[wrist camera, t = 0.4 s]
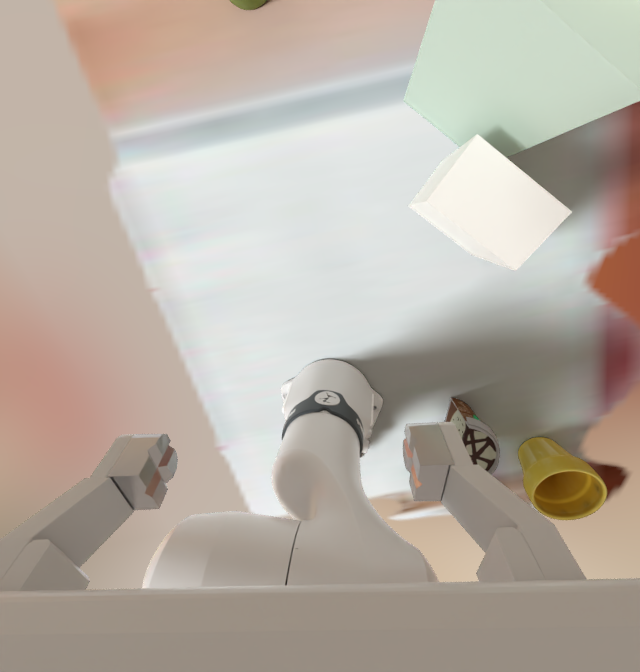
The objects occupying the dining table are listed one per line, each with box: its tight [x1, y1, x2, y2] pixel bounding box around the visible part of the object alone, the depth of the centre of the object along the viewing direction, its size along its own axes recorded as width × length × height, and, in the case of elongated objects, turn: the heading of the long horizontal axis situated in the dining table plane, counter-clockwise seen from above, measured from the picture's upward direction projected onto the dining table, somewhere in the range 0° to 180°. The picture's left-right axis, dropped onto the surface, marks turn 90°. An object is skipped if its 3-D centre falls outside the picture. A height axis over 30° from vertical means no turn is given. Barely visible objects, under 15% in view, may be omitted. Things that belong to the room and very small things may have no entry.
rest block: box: [409, 134, 572, 271], centre depth 38 cm, size 12×7×15 cm, turn 55°
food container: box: [444, 397, 500, 475], centre depth 52 cm, size 12×6×10 cm, turn 175°
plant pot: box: [518, 437, 607, 520], centre depth 53 cm, size 10×10×10 cm
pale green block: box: [404, 0, 640, 158], centre depth 27 cm, size 14×9×30 cm, turn 55°
